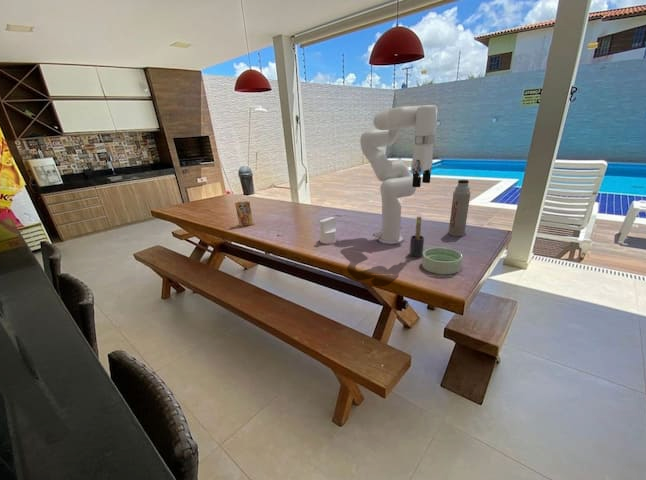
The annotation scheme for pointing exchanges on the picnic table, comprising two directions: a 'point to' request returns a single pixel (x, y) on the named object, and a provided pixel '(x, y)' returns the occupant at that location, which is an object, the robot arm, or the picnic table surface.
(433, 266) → the bowl
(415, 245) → the holder
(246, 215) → the candy box
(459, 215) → the thermos bottle
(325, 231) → the cylinder with rectangular tab
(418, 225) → the stick
